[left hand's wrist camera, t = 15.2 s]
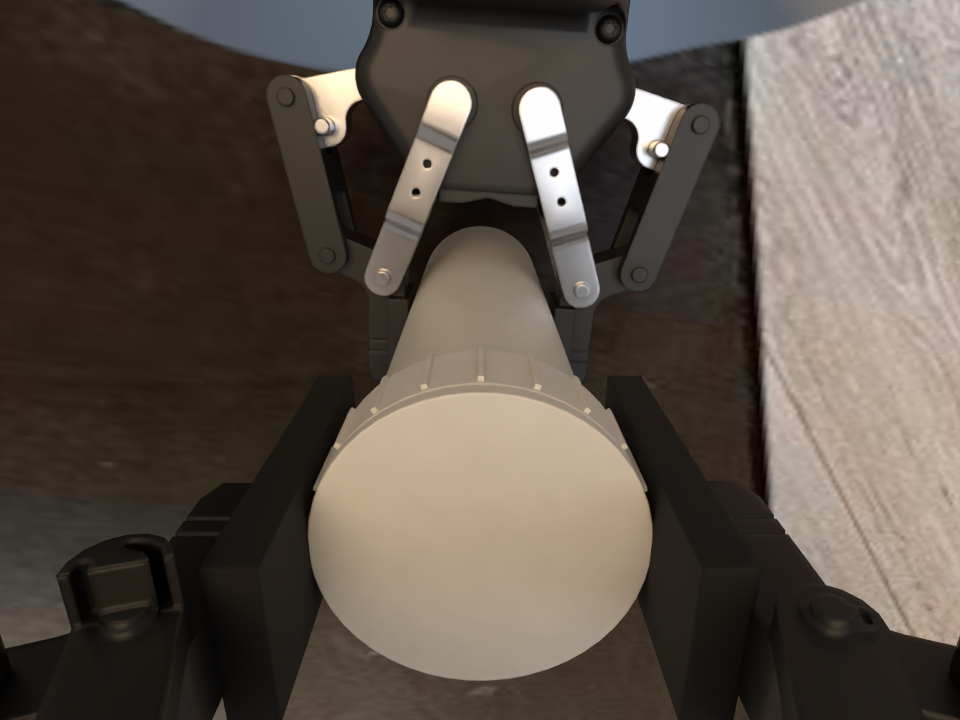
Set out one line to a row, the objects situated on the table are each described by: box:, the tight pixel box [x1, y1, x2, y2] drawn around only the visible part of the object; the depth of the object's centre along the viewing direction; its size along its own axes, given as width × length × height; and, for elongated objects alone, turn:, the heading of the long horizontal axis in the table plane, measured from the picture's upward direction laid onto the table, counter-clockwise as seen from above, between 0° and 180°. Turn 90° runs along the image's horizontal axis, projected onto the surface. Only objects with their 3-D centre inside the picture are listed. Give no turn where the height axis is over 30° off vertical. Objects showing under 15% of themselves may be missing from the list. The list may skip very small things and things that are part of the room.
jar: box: [387, 226, 574, 378], centre depth 20 cm, size 5×5×18 cm
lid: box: [308, 347, 653, 680], centre depth 11 cm, size 6×6×2 cm
